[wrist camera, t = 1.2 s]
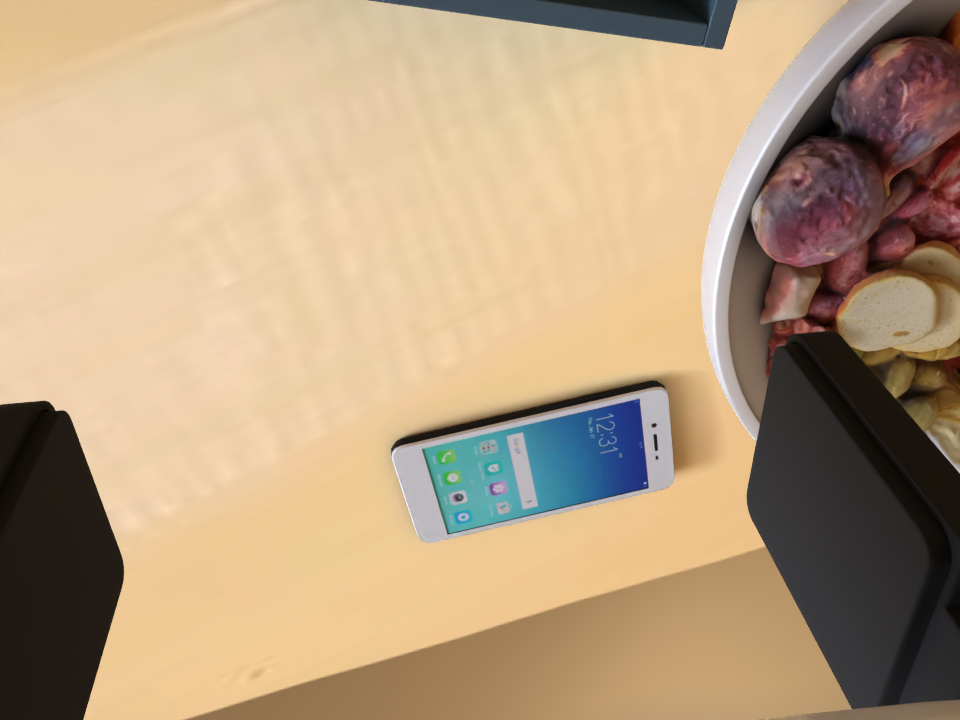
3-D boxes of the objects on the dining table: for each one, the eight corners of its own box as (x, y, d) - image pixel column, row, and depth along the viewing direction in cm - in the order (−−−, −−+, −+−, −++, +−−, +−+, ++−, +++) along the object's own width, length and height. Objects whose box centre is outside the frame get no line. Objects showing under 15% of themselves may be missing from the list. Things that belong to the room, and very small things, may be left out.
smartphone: (388, 449, 45) (668, 384, 45) (387, 439, 46) (663, 375, 46) (420, 546, 50) (676, 487, 50) (419, 536, 50) (672, 477, 50)
